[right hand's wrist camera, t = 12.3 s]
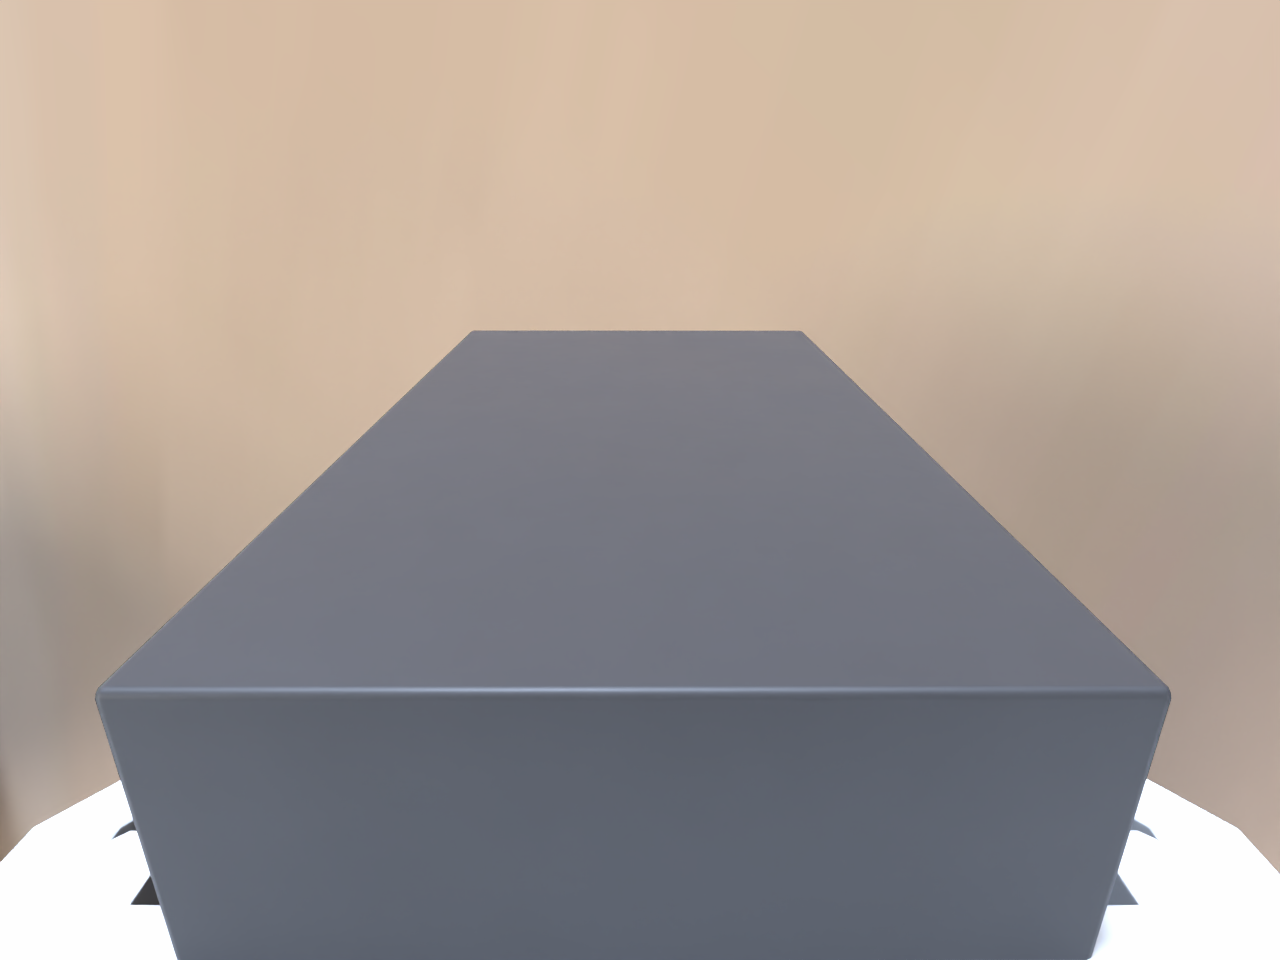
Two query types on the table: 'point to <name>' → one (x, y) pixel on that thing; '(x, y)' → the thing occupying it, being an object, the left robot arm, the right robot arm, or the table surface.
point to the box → (634, 686)
